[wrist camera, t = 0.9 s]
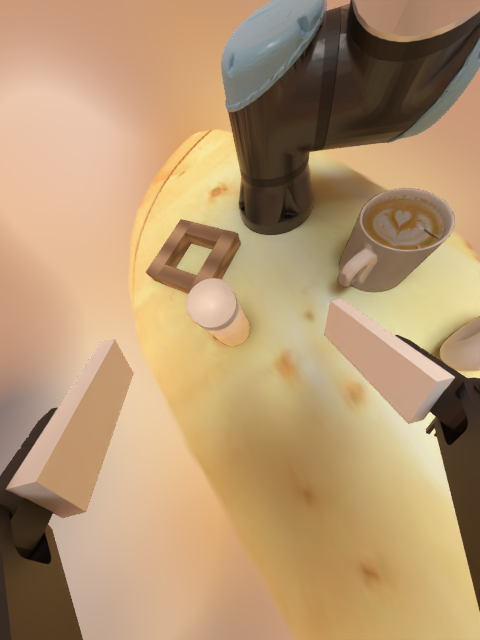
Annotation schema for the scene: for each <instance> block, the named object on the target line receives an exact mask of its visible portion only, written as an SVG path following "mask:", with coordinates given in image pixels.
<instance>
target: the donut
mask: <svg viewBox="0 0 480 640" xmlns="http://www.w3.org/2000/svg"><path fill="white" fill-rule="evenodd" d="M440 358H441V360H442V361H443V362H444V363H445V364H446V365H448V366H450V367H452V368H454V369H457V370H460V371H479V370H480V316H479V317H477V318H475V319H474V320H472V321H471V322H469V323H467V324H466V325H464V326H463V327H461V328H460V329H459V330H457V331H456V332H455V333H453V334H452V335H451V336H450V337H449V338H448V339H447V340H446V341H445V342H444V343H443V345H442V346H441V348H440Z"/></svg>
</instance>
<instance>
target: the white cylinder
mask: <svg viewBox="0 0 480 640" xmlns="http://www.w3.org/2000/svg"><path fill="white" fill-rule="evenodd" d="M186 310H187V312H188V314H189V316H190V317H191V318H192V319H193V320H194V321H195V322H196V323H197V324H199V325H200V326H201V327H202V328H204V329H206V330H207V331H208V332H209V333H211V334H212V335H213V336H214V337H216V338H217V339H218V340H220V341H221V342H222V343H223V344H225V345H228V346H237V345H239V344H241V343H243V342H244V341H245V340H246V339H247V337H248V336H249V333H250V324H249V322H248V320H247V318H246V316H245V314H244V312H243V310H242V308H241V306H240V304H239V302H238V300H237V298H236V296H235V294H234V292H233V291H232V289H231V287H230V286H229V284H228V283H226V282H225V281H223V280H221V279H216V278H210V279H206V280H203V281H201V282H199V283H198V284H196V285H195V286H194V287H193V288H192V289H191V291H190V292H189V294H188V296H187V300H186Z"/></svg>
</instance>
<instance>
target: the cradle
mask: <svg viewBox="0 0 480 640" xmlns="http://www.w3.org/2000/svg"><path fill="white" fill-rule="evenodd" d="M191 243H193V244H196V245H200V246H203V247H206V248H210V249H213V250H212V251H211V253H210V255H209V256H208V258H207V260H206V261H205V263H204V265H203V267H202V268H201V270H200V272H199V273H198V275H197V276H196V275H194V274H191V273H188V272H185V271H182V270H179V269H177V268H176V266H177V265H178V263H179V262H180V260H181V258H182V257H183V255H184V254H185V252H186V250H187V249H188V247H189V246H190V244H191ZM239 246H240V240H239V237H238V233H235V232H231V231H227V230H223V229H219V228H215V227H211V226H206V225H202V224H198V223H194V222H190V221H186V220H182V219H181V220H180V221H179V223H178V224H177V226H176V227H175V229H174V230H173V232H172V233H171V235H170V236H169V238H168V239H167V241H166V242H165V244H164V245H163V247H162V248H161V250H160V251H159V253H158V254H157V256H156V257H155V259H154V260H153V262H152V264H151V265H150V267H149V268H148V270H147V271H146V273H147V274H148V275H149V276H150V277H151V278H153V279H154V280H155V281H158V282H160V283H163V284H165V285H168V286H170V287H173V288H175V289H178V290H180V291H183V292H185V293H188V294H189V292H190V291H191V289H192V288H193V287H194V286H195V285H196V284H198V283H199V282H201V281H203V280H206V279H210V278H216V279H221V278H222V276H223V275H224V273H225V271H226V269H227V267H228V266H229V264H230V262H231V260H232V258H233V257H234V255H235V253H236V251H237V249H238V248H239Z"/></svg>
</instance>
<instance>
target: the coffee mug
mask: <svg viewBox="0 0 480 640" xmlns="http://www.w3.org/2000/svg"><path fill="white" fill-rule="evenodd" d="M454 224H455V217H454V213H453V211H452V209H451V207H450V206H449V205H448V204H447V203H446V202H445V201H444V200H443V199H441V198H440V197H438V196H436V195H435V194H432V193H430V192H427V191H424V190H419V189H411V188H402V189H394V190H389V191H385V192H383V193H380V194H378V195H376V196H375V197H373V198H372V199H370V200H369V201H368V202H367V203H366V204H365V205H364V207H363V208H362V210H361V212H360V214H359V217H358V219H357V222H356V224H355V226H354V229H353V231H352V233H351V236H350V238H349V240H348V243H347V245H346V247H345V250H344V252H343V255H342V257H341V259H340V265H339V266H340V273H339V275H338V278H337V280H338V283H339V284H340V285H342V286H343V287H348V286H350V285H352V286H353V287H355V288H358V289H360V290H363V291H368V292H382V291H387V290H389V289H392V288H394V287H395V286H397V285H398V284H399V283H400V282H401V281H403V280H404V279H405V278H406V277H407V276H408V275H409V274H410V273H411V272H412V271H413V270H414V269H415V268H416V267H417V266H419V265H420V264H421V263H422V262H423V261H424V260H425V259H426V258H427V257H428V256H429V255H430V254H431V253H432V252H433V251H434V250H436V249H437V248H438V247H439V246H440V245H441V244H442V243H443V242H444V241H445V240H446V239H447V238H448V237H449V236H450V234H451V232H452V231H453V228H454Z"/></svg>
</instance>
